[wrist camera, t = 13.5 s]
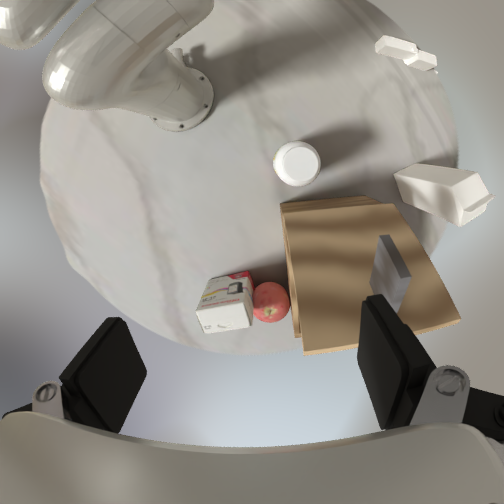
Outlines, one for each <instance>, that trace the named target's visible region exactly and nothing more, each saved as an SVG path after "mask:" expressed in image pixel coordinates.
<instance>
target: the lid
mask: <svg viewBox="0 0 504 504" xmlns="http://www.w3.org/2000/svg"><path fill="white" fill-rule="evenodd" d="M284 222H285V227H286V233H287V240H288V246H289V252H290V258H291V265H292V271H293V278H294V285H295V292H296V299H297V306H298V313H299V321H300V329H301V337H302V345H303V353H304V356H306V355H313V354H321V353H328V352H334V351H340V350H346V349H353V348H358V344H359V333H360V321H361V307H362V301H364V300H366V298H367V296H371V295H377V294H382V295H383V296H384V297H385V298H386V300H387V301H388V302H389V304H390V305H391V307H392V308H393V309H394V311H395V312H396V314H397V315H398V316H399V318H400V319H401V321H402V322H403V324H407V325H408V326H409V327H410V329H411V330H412V331H413V333H414V334H415V335H418V334H422V333H426V332H429V331H433V330H437V329H440V328H443V327H447V326H450V325H453V324H457V323H458V322H459V321H460V319H461V317H460V315H459V313H458V311H457V309H456V307H455V305H454V303H453V301H452V299H451V297H450V295H449V293H448V291H447V289H446V287H445V285H444V283H443V281H442V280H441V278H440V276H439V274H438V272H437V271H436V269H435V267H434V265H433V264H432V262H431V260H430V258H429V257H428V255H427V253H426V252H425V250H424V249H423V247H422V245H421V244H420V242H419V241H418V239H417V237H416V236H415V234H414V233H413V231H412V230H411V228H410V227H409V225H408V224H407V222H406V221H405V219H404V218H403V216H402V215H401V214H400V212H399V211H398V209H397V208H396V207H395V205H394V204H393V203H389V204H377V205H364V206H353V207H342V208H331V209H321V210H311V211H302V212H293V213H284Z"/></svg>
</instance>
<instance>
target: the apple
mask: <svg viewBox="0 0 504 504" xmlns="http://www.w3.org/2000/svg"><path fill="white" fill-rule="evenodd" d="M252 298H253V306H254V310H253V314H254V316H255V317H257V318H258V319H259V320H261V321H264V322H269V323H271V322H276V321H279V320H281V319H282V318H284V317H285V316H286V314H287V313H288V311H289V308H290V297H289V294H288V293H287V291H286V290H285V289H284V288H283V287H282V286H281V285H279V284H277V283H275V282H265V283H262V284H260V285H259V286H257V287H256V289H255V290H254V292H253V296H252Z"/></svg>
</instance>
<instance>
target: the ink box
mask: <svg viewBox="0 0 504 504" xmlns="http://www.w3.org/2000/svg"><path fill="white" fill-rule="evenodd" d="M254 290H255V287H254V284H253V280H252V278H251V275H250V273H249V271H245V272H241V273H237V274H233V275H229V276H224V277H220V278H215V279H211V280H209V281H208V283H207V285H206V288H205V290H204V293H203V295H202V297H201V300H200V302H199V304H198V307H197V309H196V315H197V318H198V321H199V323H200V326H201V328H202V330H203V333H214V332H221V331H229V330H234V329H241V328H247V327H249V326H251V325H252V320H253V310H254V306H253V298H252V296H253V292H254Z"/></svg>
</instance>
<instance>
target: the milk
mask: <svg viewBox="0 0 504 504" xmlns="http://www.w3.org/2000/svg"><path fill="white" fill-rule="evenodd" d="M393 175H394V178H395V180H396V183H397V186H398V189H399V192H400V194H401V197H402V200H403V202H404V203H407V204H409V205H412V206H414V207H417V208H419V209H421V210H424V211H426V212H428V213H431V214H433V215H435V216H437V217H440V218H442V219H444V220H446V221H448V222H450V223H453V224H455V225H457V226H459V227H461V226H463V225H464V224H466V223H468V222H469V221H471V220H472V219H474V218H475V217H477V216H478V215H480V214H481V213H483V212H485V211H486V207H487V203H488V202H489V201H490V200H492V199H493V198H495V195H492V194H489V192H488V191H487V188H486V187H485V185H484V183H483V181H482V179H481V177H480V176H479V174H478V173H477V172H473V171H467V170H461V169H455V168H449V167H442V166H434V165H427V164H418V163H415V164H413V165H411V166H409V167H407V168H405V169H403V170H401V171H398V172H396V173H394V174H393Z"/></svg>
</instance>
